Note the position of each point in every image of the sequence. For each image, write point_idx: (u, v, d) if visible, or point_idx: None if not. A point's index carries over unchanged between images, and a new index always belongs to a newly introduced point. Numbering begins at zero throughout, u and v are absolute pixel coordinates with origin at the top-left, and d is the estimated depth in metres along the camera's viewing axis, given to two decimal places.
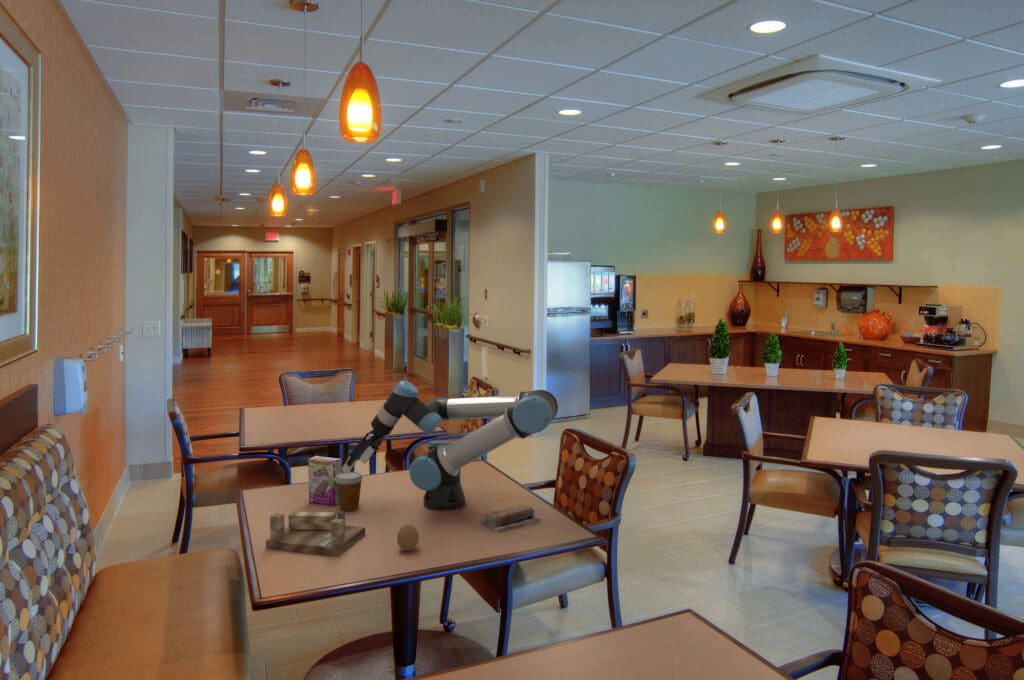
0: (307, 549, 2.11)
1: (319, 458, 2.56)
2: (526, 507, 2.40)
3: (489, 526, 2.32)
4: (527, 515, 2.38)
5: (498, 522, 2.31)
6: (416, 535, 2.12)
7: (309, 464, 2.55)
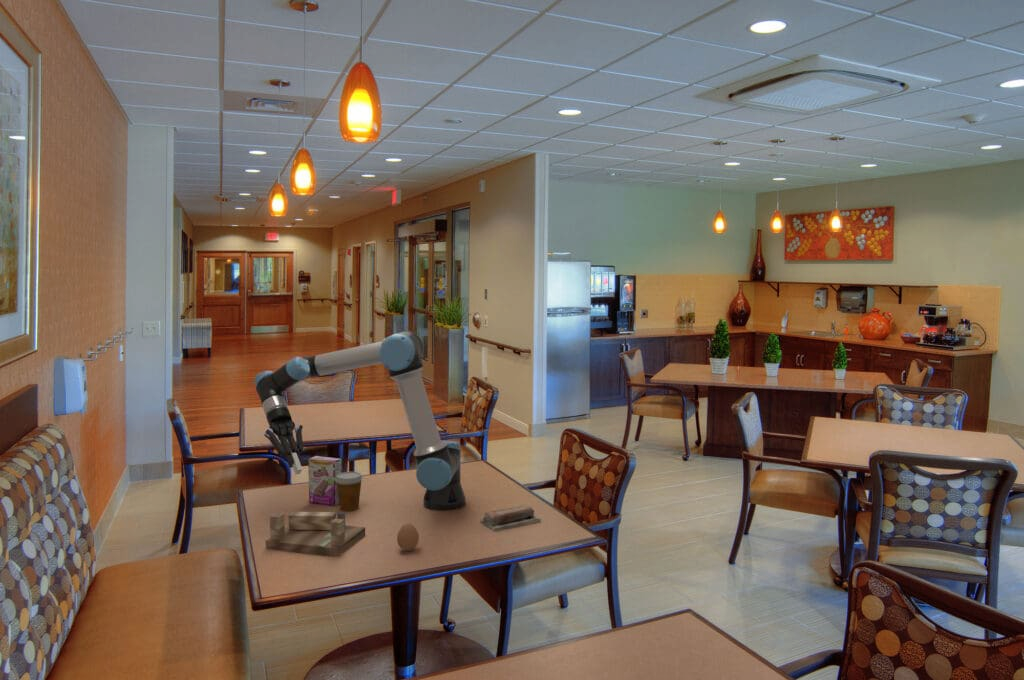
0: (307, 549, 2.11)
1: (319, 458, 2.56)
2: (526, 507, 2.40)
3: (487, 525, 2.33)
4: (526, 514, 2.38)
5: (496, 521, 2.32)
6: (416, 535, 2.12)
7: (309, 464, 2.55)
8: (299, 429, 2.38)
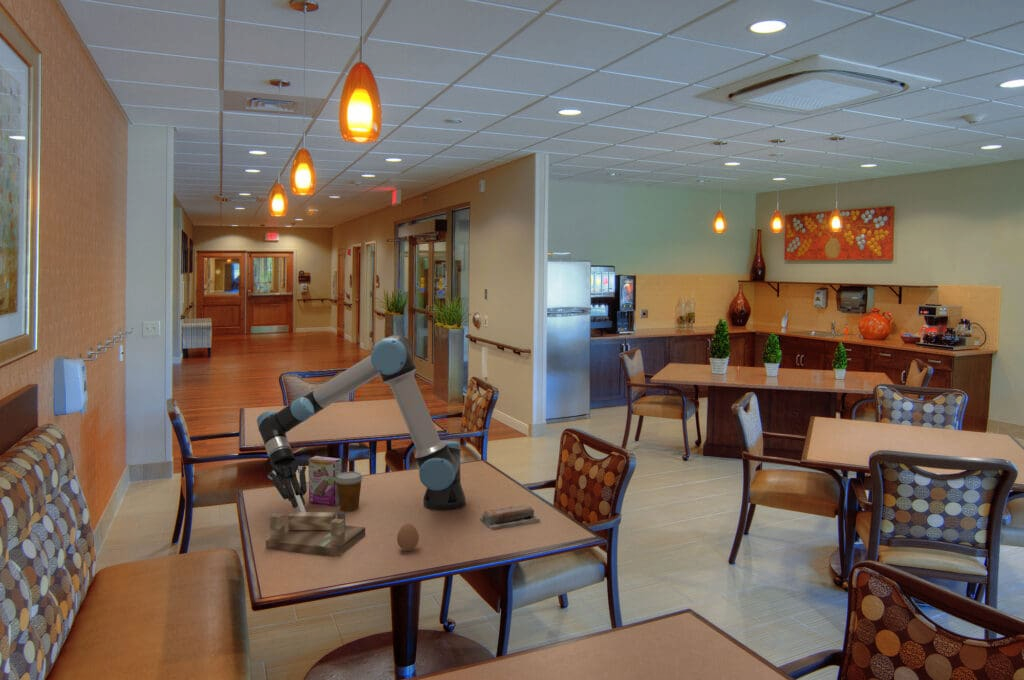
0: (307, 549, 2.11)
1: (319, 458, 2.56)
2: (526, 507, 2.40)
3: (485, 523, 2.35)
4: (525, 514, 2.38)
5: (494, 520, 2.33)
6: (416, 535, 2.12)
7: (309, 464, 2.55)
8: (302, 470, 2.36)
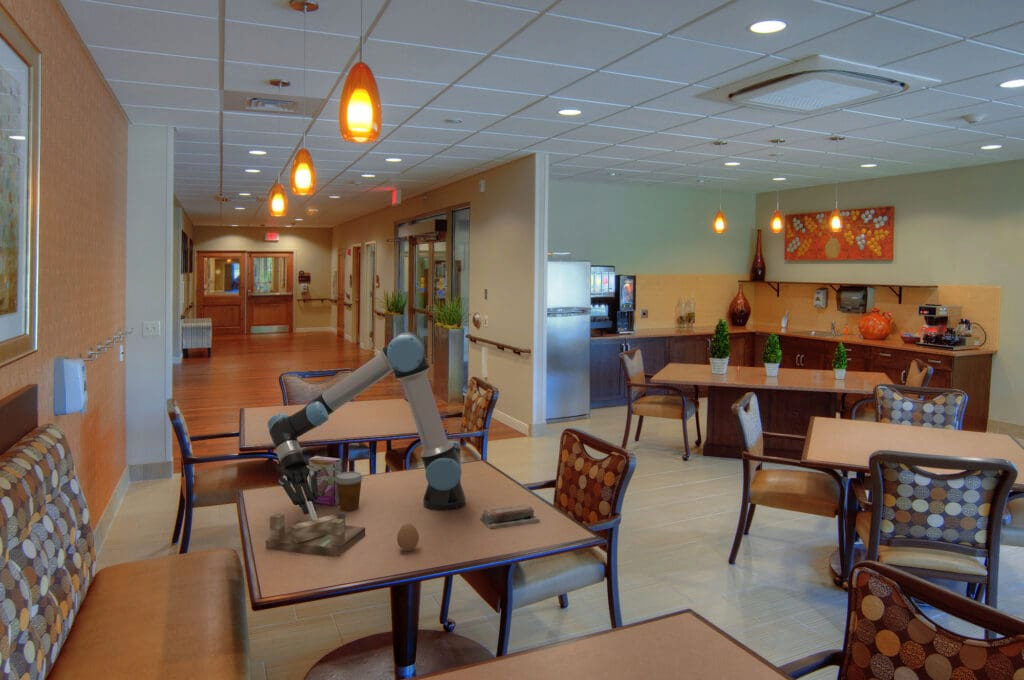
0: (307, 549, 2.11)
1: (319, 458, 2.56)
2: (526, 507, 2.41)
3: (485, 522, 2.36)
4: (525, 514, 2.38)
5: (492, 519, 2.34)
6: (416, 535, 2.12)
7: (309, 464, 2.55)
8: (314, 475, 2.30)
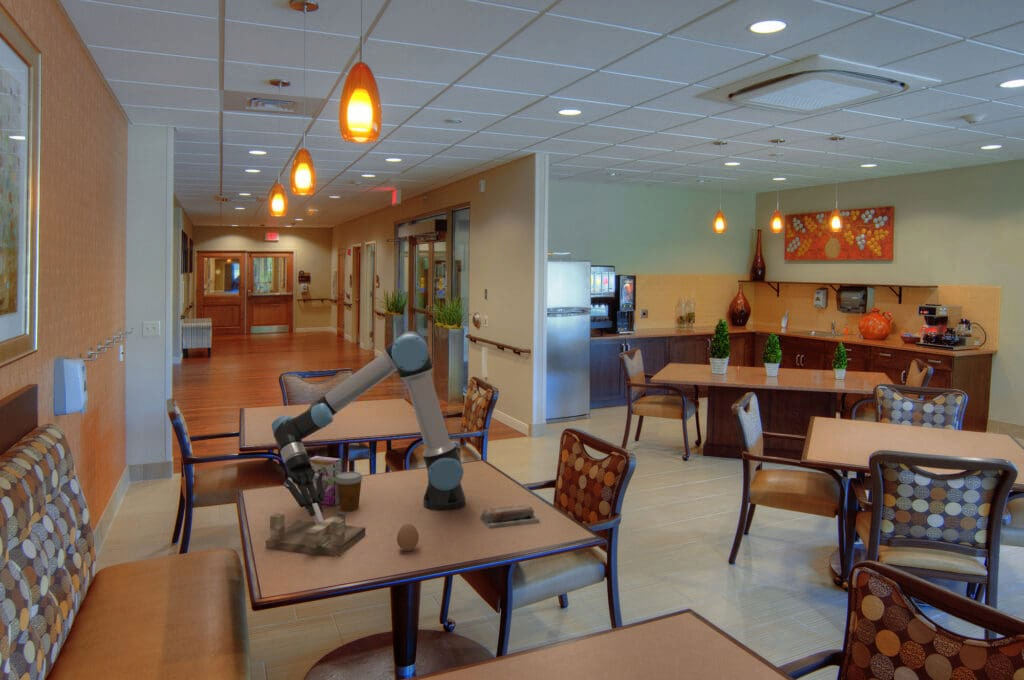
0: (307, 549, 2.11)
1: (319, 458, 2.56)
2: (527, 507, 2.41)
3: (484, 521, 2.36)
4: (525, 514, 2.38)
5: (492, 518, 2.34)
6: (416, 535, 2.12)
7: None
8: (319, 477, 2.28)
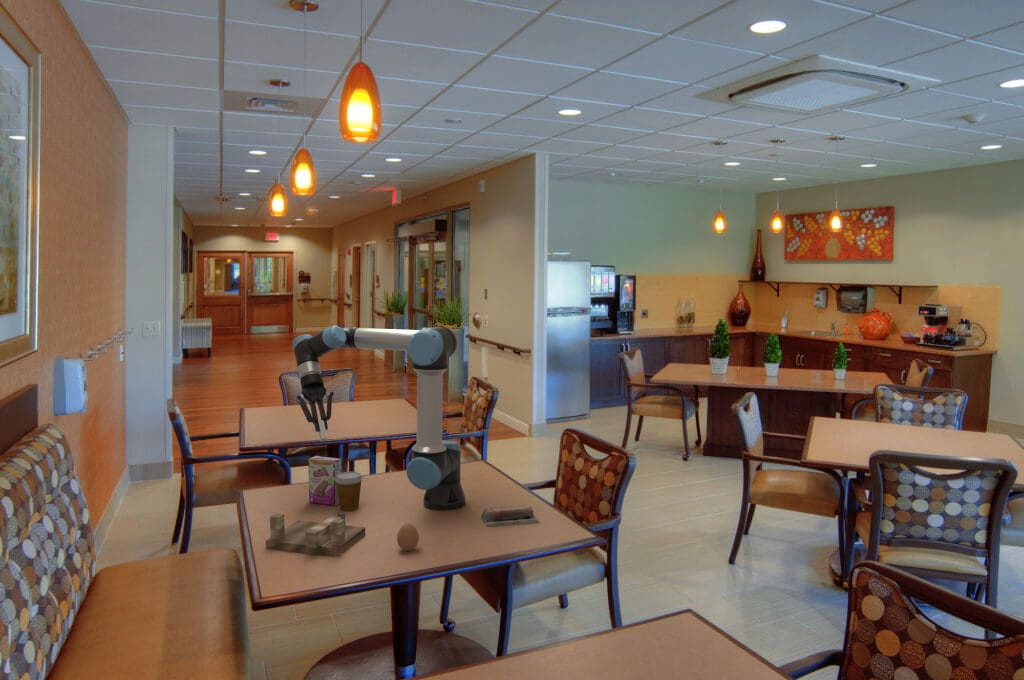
0: (307, 549, 2.11)
1: (319, 458, 2.56)
2: (527, 507, 2.41)
3: (483, 520, 2.38)
4: (524, 514, 2.38)
5: (490, 517, 2.36)
6: (416, 535, 2.12)
7: (309, 464, 2.55)
8: (330, 396, 2.46)
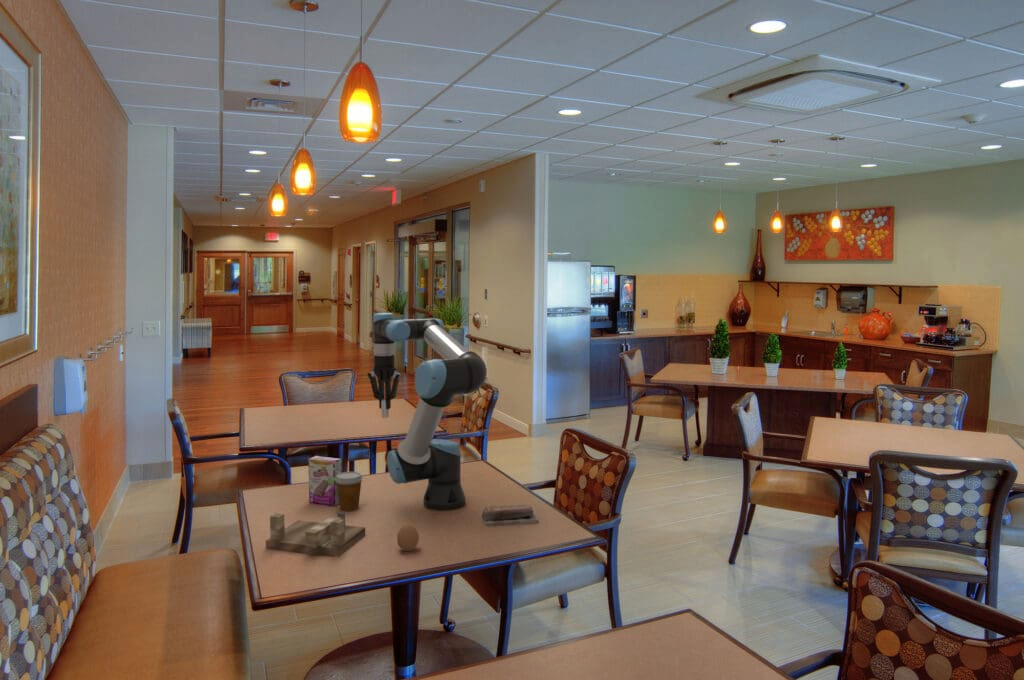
0: (307, 549, 2.11)
1: (319, 458, 2.56)
2: (527, 507, 2.41)
3: (483, 519, 2.39)
4: (524, 514, 2.38)
5: (490, 516, 2.36)
6: (416, 535, 2.12)
7: (309, 464, 2.55)
8: (395, 378, 2.61)
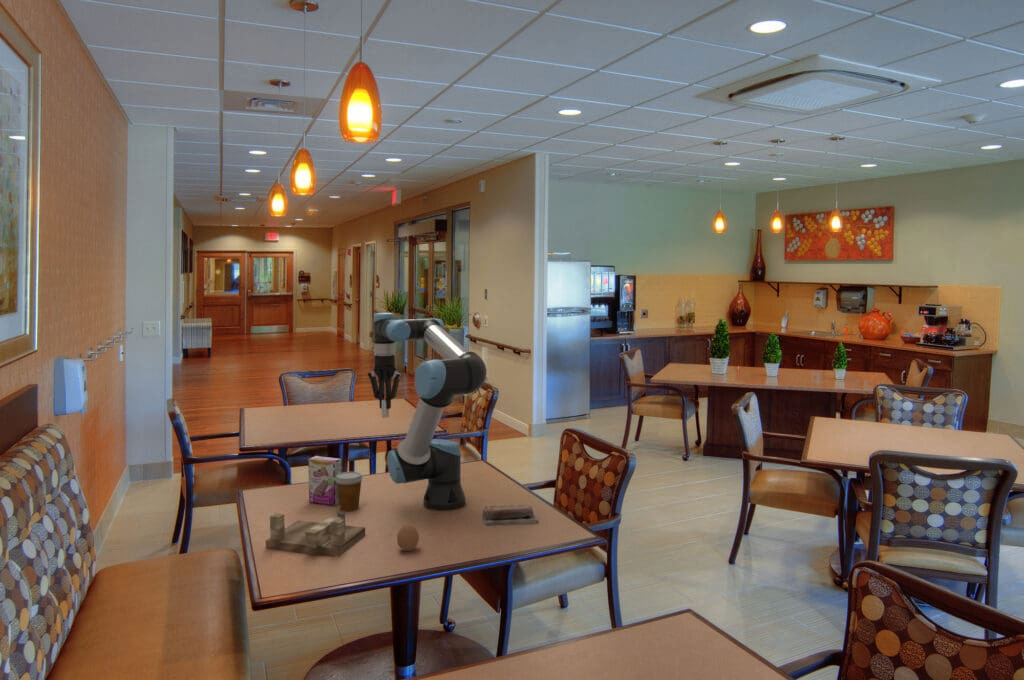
0: (307, 549, 2.11)
1: (319, 458, 2.56)
2: (527, 507, 2.41)
3: (483, 518, 2.39)
4: (524, 514, 2.38)
5: (489, 516, 2.37)
6: (416, 535, 2.12)
7: (309, 464, 2.55)
8: (395, 378, 2.61)
